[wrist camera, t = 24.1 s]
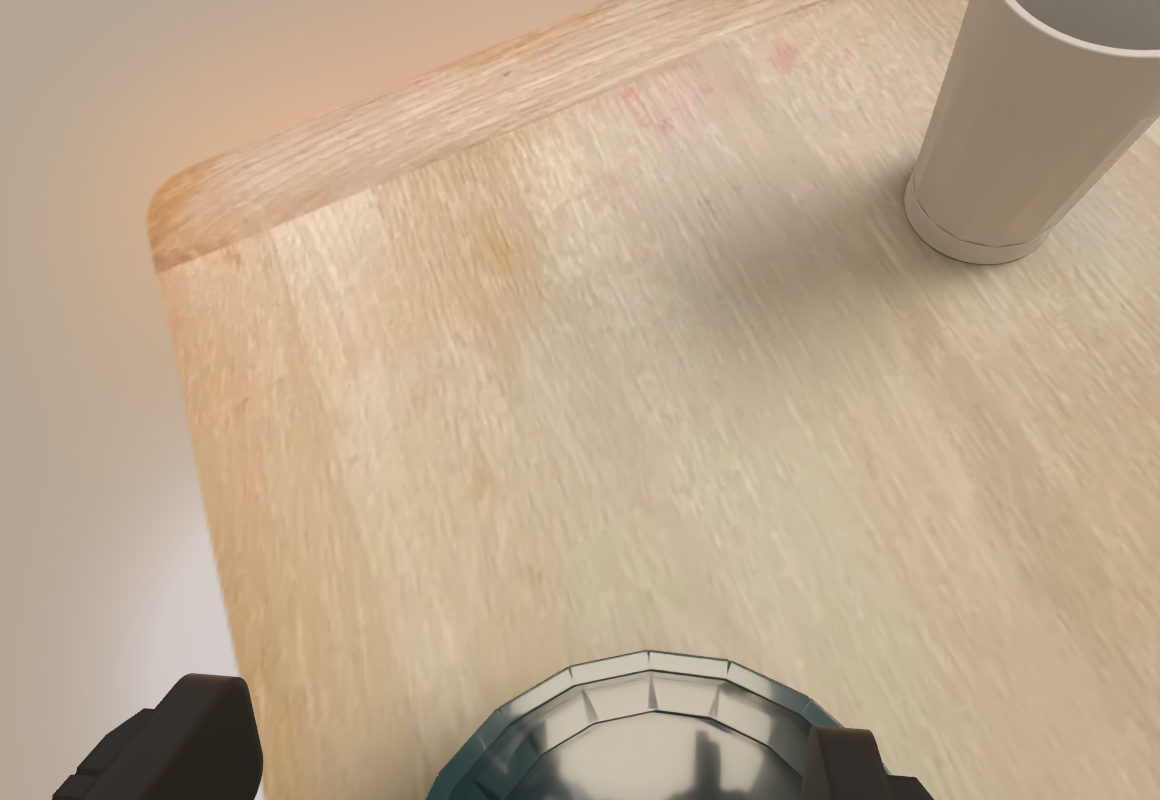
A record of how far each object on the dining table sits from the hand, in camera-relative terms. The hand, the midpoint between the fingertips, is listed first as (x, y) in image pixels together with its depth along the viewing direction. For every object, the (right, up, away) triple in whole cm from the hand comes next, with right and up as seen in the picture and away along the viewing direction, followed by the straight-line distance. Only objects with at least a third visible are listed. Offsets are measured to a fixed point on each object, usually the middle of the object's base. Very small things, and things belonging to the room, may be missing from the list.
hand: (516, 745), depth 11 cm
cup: (+19, +14, +24) cm, 33 cm away
